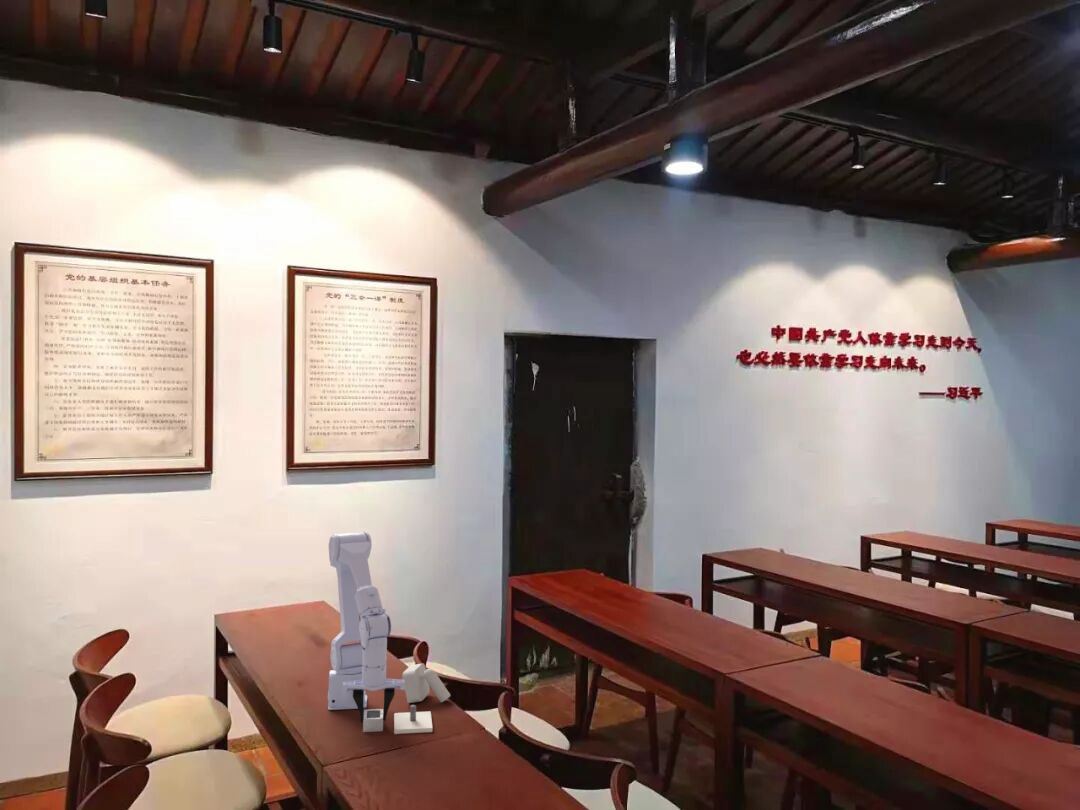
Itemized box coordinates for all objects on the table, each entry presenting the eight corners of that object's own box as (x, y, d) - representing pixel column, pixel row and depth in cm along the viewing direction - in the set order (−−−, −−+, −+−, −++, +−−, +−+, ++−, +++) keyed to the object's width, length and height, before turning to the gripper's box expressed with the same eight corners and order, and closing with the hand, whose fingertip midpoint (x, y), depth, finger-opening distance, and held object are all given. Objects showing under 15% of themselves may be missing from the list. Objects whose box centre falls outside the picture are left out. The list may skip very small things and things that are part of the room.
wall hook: (446, 706, 208) (438, 667, 209) (409, 711, 210) (401, 673, 211) (455, 694, 216) (448, 657, 216) (420, 700, 218) (412, 663, 218)
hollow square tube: (382, 731, 194) (383, 718, 194) (363, 732, 193) (363, 719, 193) (383, 720, 200) (383, 708, 200) (364, 721, 199) (364, 709, 199)
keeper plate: (394, 733, 192) (394, 715, 192) (394, 717, 202) (394, 699, 202) (432, 731, 194) (432, 713, 194) (430, 715, 204) (430, 697, 204)
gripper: (342, 670, 191) (341, 728, 191) (405, 668, 193) (403, 724, 194) (344, 660, 198) (343, 716, 198) (404, 658, 200) (403, 713, 200)
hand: (373, 719), depth 196 cm, fingers closed on hollow square tube, 5 cm apart
